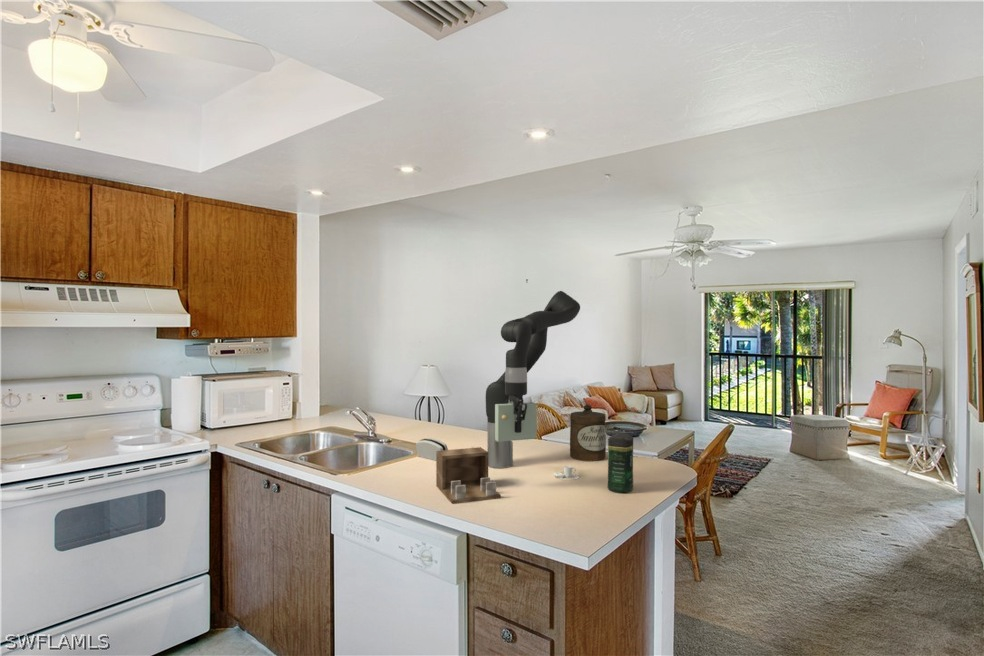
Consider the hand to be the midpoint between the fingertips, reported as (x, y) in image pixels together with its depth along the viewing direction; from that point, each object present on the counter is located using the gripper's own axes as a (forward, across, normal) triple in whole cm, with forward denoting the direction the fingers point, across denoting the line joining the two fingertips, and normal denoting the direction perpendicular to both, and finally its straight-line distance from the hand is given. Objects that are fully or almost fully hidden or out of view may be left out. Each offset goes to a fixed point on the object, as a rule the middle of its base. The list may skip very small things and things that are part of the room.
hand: (515, 431), depth 177 cm
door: (+3, 0, 0) cm, 3 cm away
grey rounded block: (+20, +47, +17) cm, 54 cm away
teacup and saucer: (+20, +8, -22) cm, 31 cm away
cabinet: (+19, +1, +17) cm, 25 cm away
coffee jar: (+19, -14, -32) cm, 40 cm away
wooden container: (+19, +29, -45) cm, 57 cm away
